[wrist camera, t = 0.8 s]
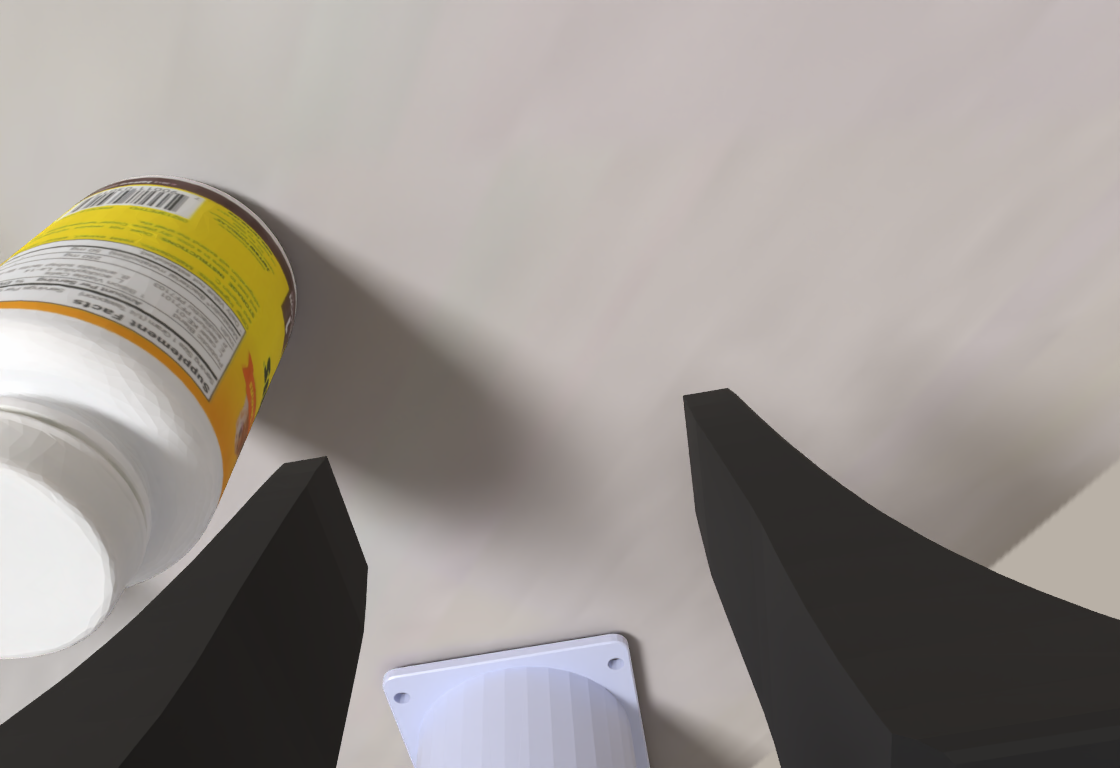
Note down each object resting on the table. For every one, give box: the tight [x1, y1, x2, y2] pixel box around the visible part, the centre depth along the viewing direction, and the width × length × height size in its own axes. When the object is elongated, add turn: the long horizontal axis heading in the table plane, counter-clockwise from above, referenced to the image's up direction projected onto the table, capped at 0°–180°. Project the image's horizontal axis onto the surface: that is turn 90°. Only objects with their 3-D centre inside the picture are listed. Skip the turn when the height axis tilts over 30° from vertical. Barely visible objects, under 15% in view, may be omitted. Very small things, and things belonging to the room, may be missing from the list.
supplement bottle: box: [0, 175, 297, 659], centre depth 17 cm, size 6×6×10 cm
